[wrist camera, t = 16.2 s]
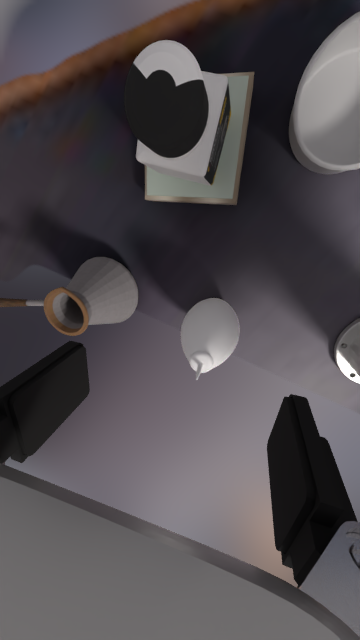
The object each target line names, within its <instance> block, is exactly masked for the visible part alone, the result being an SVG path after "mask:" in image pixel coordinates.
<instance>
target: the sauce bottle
mask: <svg viewBox="0 0 360 640" xmlns="http://www.w3.org/2000/svg"><path fill="white" fill-rule="evenodd" d="M239 334H240V326H239V320H238V317H237V315H236V313H235V311H234V309H233V308H232V307H231V306H230V305H229V304H228V303H227V302H225V301H224V300H222V299H219V298H208V299H205V300H202V301H200V302H198V303H197V304H196V305H194V306H193V307H192V308H191V309H190V310H189V311H188V313H187V314H186V316H185V318H184V320H183V323H182V327H181V343H182V348H183V351H184V353H185V356H186V357H187V359H188V360H189V363H190V365H191V367H192V368H193V369H194V370H195V371H196V380H197V379H198V377H199V375H200V373H205V372H208V371H210V370H211V369H212V368H214V367H216V366H218V365H220V364H221V363H222V362H224V361H225V360H226V359H227V358H228V357H229V356H230V355H231V354H232V352H233V351H234V349H235V347H236V345H237V343H238V340H239Z"/></svg>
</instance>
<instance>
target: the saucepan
mask: <svg viewBox="0 0 360 640" xmlns="http://www.w3.org/2000/svg"><path fill="white" fill-rule="evenodd" d="M289 141H290V145H291V149H292V152H293V154H294V155H295V157H296V159H297V160H298V161H299V162H300V163H301V164H302V166H304V167H305V168H307V169H308V170H310V171H313V172H316V173H319V174H335V173H341V172H344V171H347V170H355V169H359V168H360V12H358V13H356V14H354V15H353V16H351V17H350V18H349V19H347V20H346V21H345V22H343V23H342V24H340V25H339V26H338V27H337V28H336V29H335V30H334V31H333V32H332V33H331V34H330V35H329V36H328V37H327V38H326V39H325V40H324V42H323V43H322V44H321V45H320V47H319V48H318V49H317V51H316V52H315V53H314V55H313V56H312V58H311V60H310V62H309V63H308V65H307V67H306V69H305V71H304V73H303V75H302V78H301V80H300V83H299V85H298V89H297V93H296V97H295V101H294V106H293V108H292V112H291V116H290V121H289Z"/></svg>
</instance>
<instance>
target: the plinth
mask: <svg viewBox="0 0 360 640" xmlns="http://www.w3.org/2000/svg"><path fill="white" fill-rule="evenodd" d="M220 75H225V76H226V77H227V78H228V84H229V95H230V105H231V117H230V121H229V125H228V129H227V132H226V136H225V140H224V144H223V148H222V152H221V156H220V160H219V163H218V167H217V171H216V175H215V179H214V183H213V185H211V186H209V185H205V184H201V183H197V182H193V181H189V180H185V179H181V178H177V177H172V176H168V175H164V174H160V173H158V172H157V171H155V170H153V169H151V168H149V167H148V166H146V165H145V200H150V201H160V202H181V203H202V204H224V205H237V198H238V191H239V184H240V177H241V170H242V163H243V155H244V148H245V141H246V134H247V127H248V120H249V113H250V106H251V99H252V91H253V82H254V72H243V73H228V74H220Z"/></svg>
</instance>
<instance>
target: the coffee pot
mask: <svg viewBox="0 0 360 640" xmlns="http://www.w3.org/2000/svg"><path fill="white" fill-rule="evenodd" d="M137 303H138V288H137V284H136V282H135V279H134V277H133V276H132V274H131V273H130V271H129V270H128V269H127V268H126V267H125V266H123V265H122V264H121V263H119V262H117V261H115V260H114V259H110V258H106V257H94V258H91V259H89V260H87V261H86V262H84V263H83V264H82V265H81V266H80V268H79V269H78V271H77V272H76V274H75V275H74V277H73V278H72V280H71V281H70V283H69V284H68V286H67V288H64V287H60V288H57V289H55V290H53V291H51V292H50V293H49V294H48V295H47V296H46V298H45V300H22V299H4V298H0V307H15V306H44V311H45V314H46V317H47V319H48V320H49V322H50V323H51V324H52V325H53V327H54V328H56V329H57V330H58V331H60V332H61V333H63V334H66V335H71V336H75V335H79V334H81V333H83V332H84V330H86V328H87V326H88V325H93V324H113V323H119V322H123V321H124V320H126V319H128V318H129V317H130V316H131V315H132V314H133V313H134V311H135V309H136V306H137Z"/></svg>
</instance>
